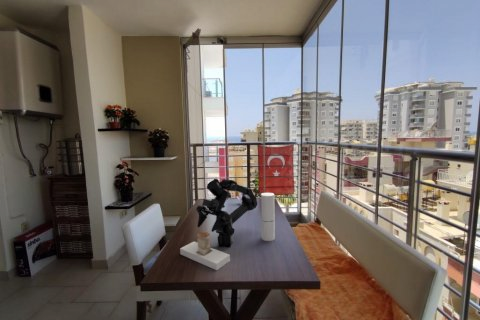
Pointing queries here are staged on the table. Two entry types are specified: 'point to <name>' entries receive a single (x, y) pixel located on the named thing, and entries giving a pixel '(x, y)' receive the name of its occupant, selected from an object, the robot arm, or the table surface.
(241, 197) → the water lily
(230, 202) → the table surface
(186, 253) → the white slotted block
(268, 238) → the cylindrical container
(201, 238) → the wooden peg
